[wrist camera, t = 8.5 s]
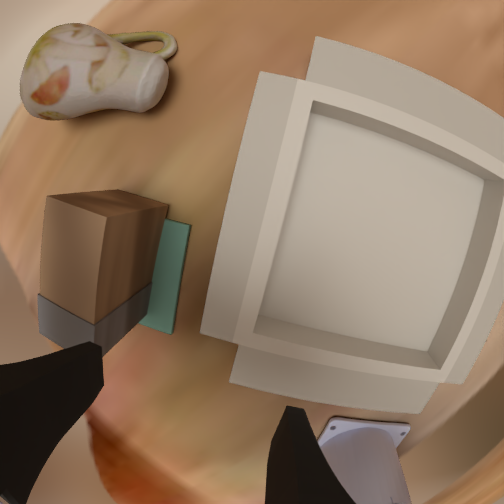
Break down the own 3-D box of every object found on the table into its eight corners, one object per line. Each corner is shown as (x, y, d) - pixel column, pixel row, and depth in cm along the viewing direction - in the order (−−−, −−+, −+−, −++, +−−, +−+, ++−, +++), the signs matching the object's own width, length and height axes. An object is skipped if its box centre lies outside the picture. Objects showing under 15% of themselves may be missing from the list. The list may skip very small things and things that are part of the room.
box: (169, 205, 18) (107, 218, 11) (147, 314, 20) (93, 365, 13) (116, 189, 18) (44, 195, 12) (100, 293, 20) (39, 332, 13)
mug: (172, 142, 18) (21, 147, 10) (114, 111, 22) (9, 113, 14) (208, 36, 14) (55, -1, 7) (137, 34, 19) (30, 20, 11)
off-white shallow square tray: (430, 392, 19) (442, 414, 16) (204, 348, 21) (192, 371, 18) (513, 145, 14) (537, 143, 12) (275, 49, 16) (272, 27, 13)
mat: (173, 332, 21) (171, 334, 20) (85, 299, 21) (82, 300, 21) (191, 225, 19) (189, 225, 18) (92, 200, 19) (89, 200, 19)
